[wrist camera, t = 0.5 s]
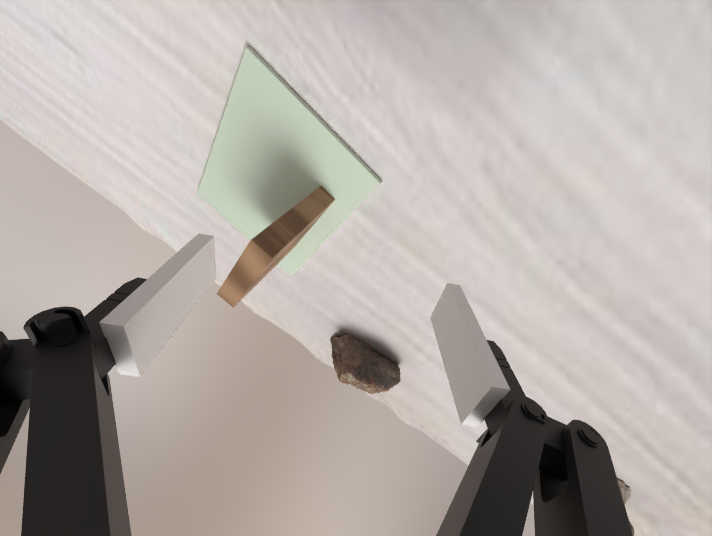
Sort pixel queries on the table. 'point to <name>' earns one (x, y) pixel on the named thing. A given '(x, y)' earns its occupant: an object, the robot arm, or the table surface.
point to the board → (273, 245)
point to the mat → (279, 161)
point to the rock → (363, 365)
